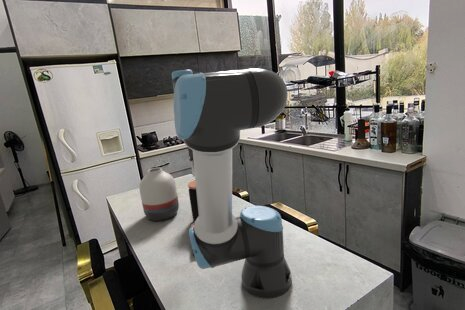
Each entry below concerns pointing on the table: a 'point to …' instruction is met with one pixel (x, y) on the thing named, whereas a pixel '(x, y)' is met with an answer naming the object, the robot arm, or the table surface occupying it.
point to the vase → (158, 195)
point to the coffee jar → (193, 199)
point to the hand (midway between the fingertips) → (196, 175)
